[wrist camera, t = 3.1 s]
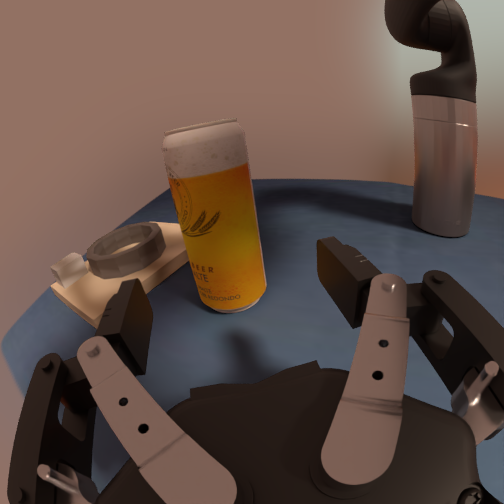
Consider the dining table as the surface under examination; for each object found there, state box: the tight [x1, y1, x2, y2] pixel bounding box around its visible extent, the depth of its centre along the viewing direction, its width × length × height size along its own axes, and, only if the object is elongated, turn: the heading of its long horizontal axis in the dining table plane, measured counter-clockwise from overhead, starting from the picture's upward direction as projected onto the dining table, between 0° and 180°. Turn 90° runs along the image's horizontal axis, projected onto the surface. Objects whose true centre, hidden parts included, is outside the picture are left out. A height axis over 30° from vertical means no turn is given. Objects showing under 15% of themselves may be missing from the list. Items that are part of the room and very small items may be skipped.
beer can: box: [162, 118, 267, 313], centre depth 21 cm, size 6×6×15 cm
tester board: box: [50, 222, 189, 329], centre depth 32 cm, size 20×14×4 cm
